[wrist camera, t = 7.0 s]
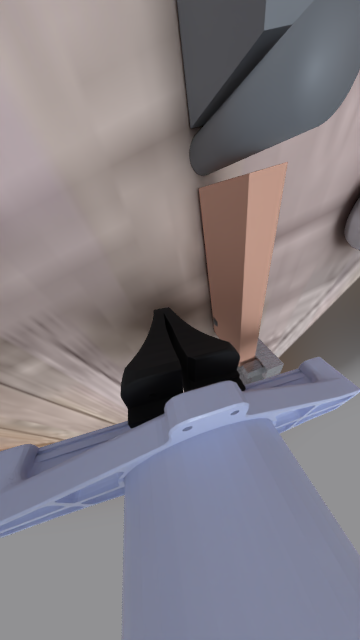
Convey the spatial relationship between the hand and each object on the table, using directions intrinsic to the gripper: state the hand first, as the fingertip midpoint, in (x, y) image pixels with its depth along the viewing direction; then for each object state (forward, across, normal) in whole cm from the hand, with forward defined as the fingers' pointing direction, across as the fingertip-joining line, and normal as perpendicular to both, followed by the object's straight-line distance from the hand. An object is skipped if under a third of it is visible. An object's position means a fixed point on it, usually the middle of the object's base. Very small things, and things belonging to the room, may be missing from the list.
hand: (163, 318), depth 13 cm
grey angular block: (+1, -8, +7) cm, 11 cm away
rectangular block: (+1, -5, -2) cm, 6 cm away
